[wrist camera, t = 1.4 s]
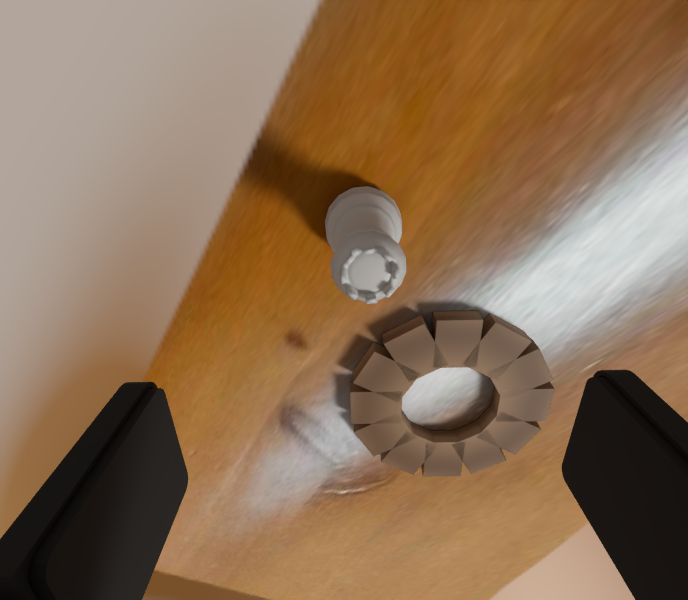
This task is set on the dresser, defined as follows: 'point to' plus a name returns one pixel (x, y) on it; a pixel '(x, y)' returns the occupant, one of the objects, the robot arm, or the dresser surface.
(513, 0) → the dresser surface
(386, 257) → the rook chess piece
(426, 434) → the walnut ring
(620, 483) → the robot arm
